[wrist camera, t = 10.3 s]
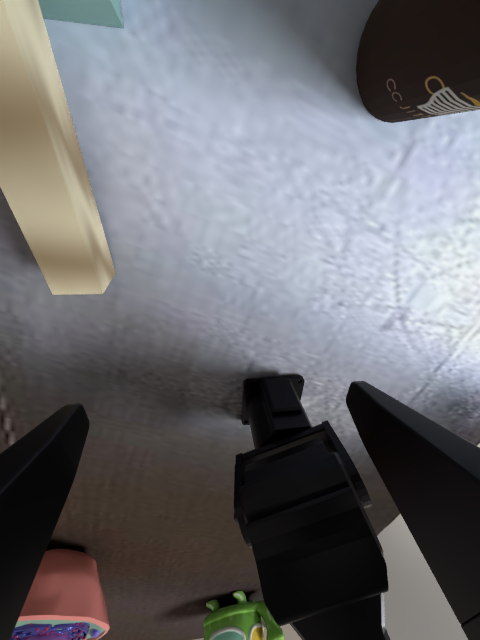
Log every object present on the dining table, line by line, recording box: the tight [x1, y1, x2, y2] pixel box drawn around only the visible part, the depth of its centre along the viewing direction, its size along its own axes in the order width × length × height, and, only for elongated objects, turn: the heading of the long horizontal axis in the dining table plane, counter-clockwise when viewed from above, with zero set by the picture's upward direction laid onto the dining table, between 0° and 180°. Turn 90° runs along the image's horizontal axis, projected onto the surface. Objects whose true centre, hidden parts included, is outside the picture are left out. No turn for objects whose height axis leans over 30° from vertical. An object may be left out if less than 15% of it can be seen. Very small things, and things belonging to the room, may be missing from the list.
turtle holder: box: [203, 591, 284, 640], centre depth 53 cm, size 12×18×12 cm
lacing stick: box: [0, 0, 115, 295], centre depth 11 cm, size 20×3×3 cm, turn 178°
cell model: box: [10, 548, 110, 640], centre depth 32 cm, size 17×20×11 cm
